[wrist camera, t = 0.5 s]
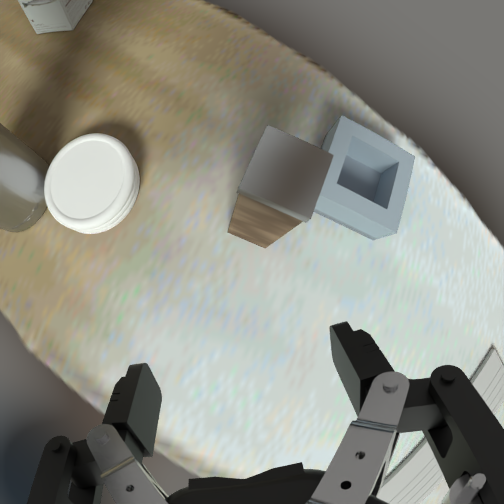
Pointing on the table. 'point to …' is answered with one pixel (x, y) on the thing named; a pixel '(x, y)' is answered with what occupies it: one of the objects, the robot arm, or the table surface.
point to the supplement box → (54, 14)
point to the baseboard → (422, 458)
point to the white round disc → (92, 183)
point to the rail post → (278, 187)
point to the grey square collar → (364, 180)
